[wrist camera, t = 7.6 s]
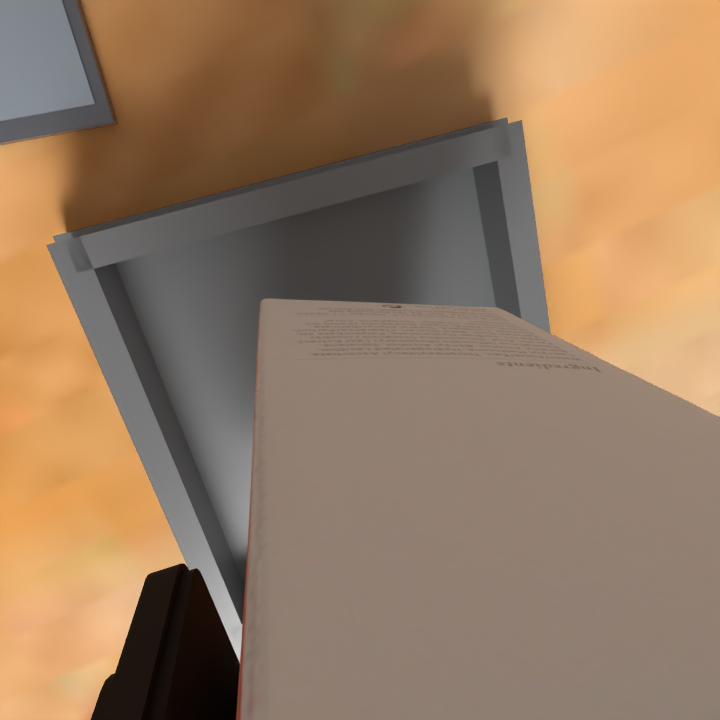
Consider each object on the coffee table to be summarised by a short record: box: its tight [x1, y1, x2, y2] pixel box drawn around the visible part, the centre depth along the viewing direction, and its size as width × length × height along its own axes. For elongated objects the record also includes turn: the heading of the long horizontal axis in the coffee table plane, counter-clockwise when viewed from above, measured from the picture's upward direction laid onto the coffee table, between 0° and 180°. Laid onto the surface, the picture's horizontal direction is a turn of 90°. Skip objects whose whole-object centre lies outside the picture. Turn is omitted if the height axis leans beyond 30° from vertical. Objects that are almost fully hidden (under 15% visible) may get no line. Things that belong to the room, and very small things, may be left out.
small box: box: [236, 298, 720, 720], centre depth 8 cm, size 8×6×10 cm
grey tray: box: [47, 118, 551, 662], centre depth 17 cm, size 18×13×4 cm
